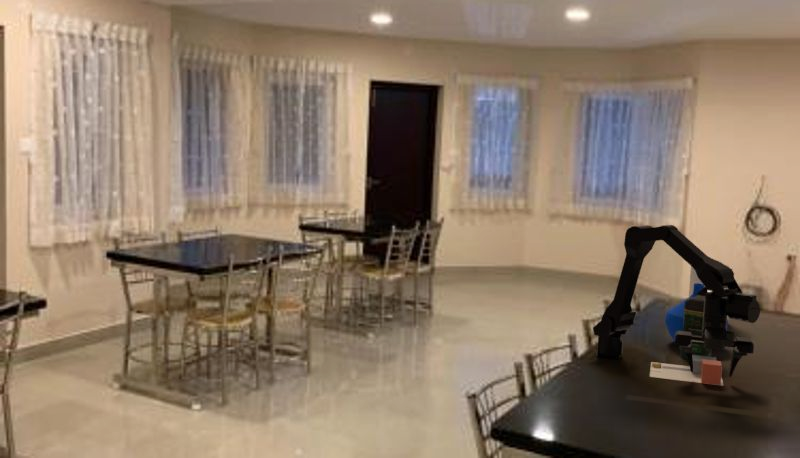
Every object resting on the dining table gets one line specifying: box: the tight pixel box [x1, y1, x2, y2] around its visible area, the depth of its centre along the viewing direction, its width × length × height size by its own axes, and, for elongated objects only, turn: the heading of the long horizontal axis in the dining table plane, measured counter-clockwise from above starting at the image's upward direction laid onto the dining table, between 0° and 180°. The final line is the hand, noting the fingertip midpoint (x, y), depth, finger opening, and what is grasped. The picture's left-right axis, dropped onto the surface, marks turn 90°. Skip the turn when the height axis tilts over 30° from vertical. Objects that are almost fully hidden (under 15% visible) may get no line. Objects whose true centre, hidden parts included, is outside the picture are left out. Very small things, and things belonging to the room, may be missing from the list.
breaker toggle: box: [692, 355, 718, 374], centre depth 212 cm, size 6×6×4 cm
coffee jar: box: [679, 295, 713, 360], centre depth 227 cm, size 10×8×19 cm
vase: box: [664, 283, 729, 341], centre depth 244 cm, size 18×18×19 cm
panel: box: [649, 361, 724, 387], centre depth 211 cm, size 18×15×3 cm
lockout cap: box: [700, 359, 723, 386], centre depth 204 cm, size 4×4×5 cm
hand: (710, 374), depth 204 cm, fingers open, 9 cm apart
